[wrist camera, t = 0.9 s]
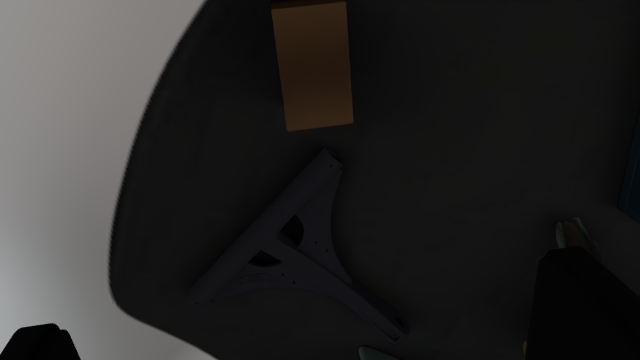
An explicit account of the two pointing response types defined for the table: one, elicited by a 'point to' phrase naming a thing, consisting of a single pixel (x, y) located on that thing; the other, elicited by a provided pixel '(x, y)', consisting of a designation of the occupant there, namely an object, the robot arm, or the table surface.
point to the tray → (632, 180)
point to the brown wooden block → (313, 62)
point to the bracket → (297, 253)
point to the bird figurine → (575, 242)
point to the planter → (373, 354)
